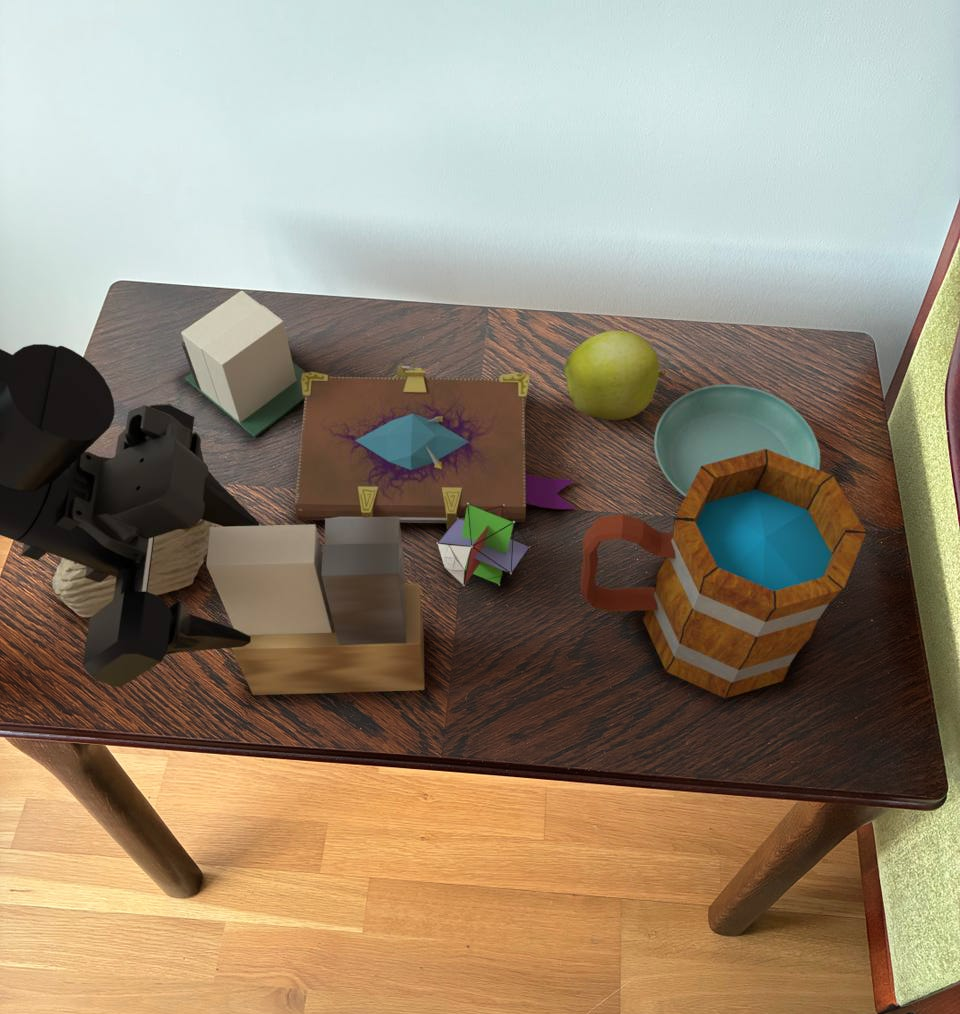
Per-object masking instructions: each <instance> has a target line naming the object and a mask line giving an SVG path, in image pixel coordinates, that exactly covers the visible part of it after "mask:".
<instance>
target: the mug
mask: <svg viewBox="0 0 960 1014" xmlns="http://www.w3.org/2000/svg"><path fill="white" fill-rule="evenodd" d="M866 535H867V531H866V529H865V528H864V526H863V524H862V523H861V521H860V519H859V517H858V516H857V514H856V512H855V510H854V509H853V507H852V505H851V504H850V502H849V500H848V498H847V497H846V495H845V493H844V492H843V490H842V488H841V486H840V485H839V483H838V481H837V480H836V478H835V477H834V475H833V474H830V473H827V472H825V471H823V470H820V469H819V470H818V469H815V468H813V467H810V466H808V465H805V464H803V463H800V462H798V461H795V460H793V459H790V458H787V457H785V456H782V455H780V454H777V453H775V452H772V451H770V450H767V449H763V450H760V451H756V452H752V453H748V454H745V455H741V456H737V457H733V458H729V459H726V460H722V461H718V462H714V463H710V464H707V465H703V466H701V467H700V469H699V471H698V473H697V475H696V477H695V479H694V481H693V483H692V485H691V487H690V489H689V491H688V493H687V495H686V497H684V498H683V500H682V503H681V505H680V506H679V508H678V511H677V513H676V514H675V517H674V519H673V527H672V533H669V532H664V531H663V532H662V531H659V530H657V529H655V528H654V527H652V526H651V525H650V524H648V523H647V522H646V521H644V520H643V519H640V518H637V517H634V516H630V515H628V514H624V513H617V514H611V515H603V516H599V517H597V518H596V519H595V521H594V522H593V523H592V524H591V525H590V527H589V528H588V529H587V530H586V531H585V533H584V535H583V540H582V565H581V570H580V591H581V595H582V596H583V598H584V599H585V600H586V602H587V603H588V605H589V606H590V607H592V608H594V609H597V610H601V611H604V612H609V613H613V612H628V611H631V612H633V611H644V615H643V616H642V618H641V619H642V621H643V623H644V626H645V628H646V630H647V631H648V634H649V637H650V639H651V642H652V644H653V646H654V648H655V650H656V652H657V655H658V657H659V659H660V661H661V663H662V666H663V667H664V670H665V672H666V673H667V674H670V675H672V676H674V677H677V678H679V679H681V680H684V681H685V682H687V683H689V684H693V685H695V686H696V687H698V688H699V687H700V688H701V689H703V690H706V691H708V692H710V693H712V694H714V695H716V696H719V697H720V698H723V699H728V698H732V697H735V696H738V695H741V694H745V693H747V692H748V693H749V692H751V691H754V690H757V689H762V688H763V687H767V686H771V685H774V684H777V683H781V682H784V680H785V679H786V675H787V673H788V671H789V668H790V666H791V663H792V662H793V660H794V659H795V658H796V656H797V654H798V653H799V652H800V650H802V648H804V647H805V645H807V643H808V642H809V641H810V640H811V638H812V636H813V634H814V631H815V629H816V627H817V624H818V622H819V621H820V619H821V616H823V613H825V610H826V609H827V608H828V606H829V605H830V603H831V602H832V601H833V600H834V599H835V598H836V597H838V595H839V594H840V593H842V591H844V589H845V587H846V585H847V582H848V580H849V577H850V574H851V572H852V569H853V567H854V565H855V562H856V560H857V557H858V554H859V552H860V550H861V547H862V545H863V543H864V540H865V538H866ZM618 539H619V540H620V539H621V540H625V541H629V542H632V543H635V544H636V545H638V546H639V547H640V548H642V549H643V550H645V551H646V552H648V553H649V554H651V555H654V556H656V557H661V558H664V559H663V560H662V562H661V565H660V567H659V569H658V570H657V573H656V581H655V587H653V586H651V587H622V588H620V587H619V588H607V587H604V586H600V585H598V584H597V583H596V582H595V581H596V574H597V569H598V565H599V556H598V555H599V554H598V548H599V546H600V544H601V543H602V542H606V541H612V540H618Z"/></svg>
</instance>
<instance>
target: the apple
mask: <svg viewBox="0 0 960 1014" xmlns="http://www.w3.org/2000/svg"><path fill="white" fill-rule="evenodd" d="M563 369H564V370H563V371H564V377H565V382H566V386H567V391H568V394H569V397H570V398H571V399H570V400H572V402H573V405H574V407H575V409H576V410H578V411H579V412H581V413H582V414H584V415H587V416H589V417H593V418H597V419H601V420H606V421H607V420H608V421H618V420H619V421H621V420H626V419H630V418H633V417H635V416H637V415H639V414H640V413H641V412H643V411H644V410H645V409H646V408H647V407H648V406H649V405H650V404H651V402H652V399H653V397H654V394H655V391H656V388H657V386H658V382H659V378H661V379H662V378H665V377H666V371H665V370H661V371H660V363H659V357H658V355H657V353H656V351H655V349H654V348H653V347H652V346H651V344H650V343H648V342H647V340H645V338H643V337H641V336H640V335H637V334H635V333H632V332H630V331H625V330H607V331H604V332H601V333H598V334H596V335H593V336H591V337H589V338H588V339H585V340H584V341H583V342H582V343H580V344H579V345H578V346H577V347H576V348H575V349H574V350H572V352H571V353H570V354H569V356H568V357H567V359H566V361H565V364H564V368H563Z"/></svg>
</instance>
